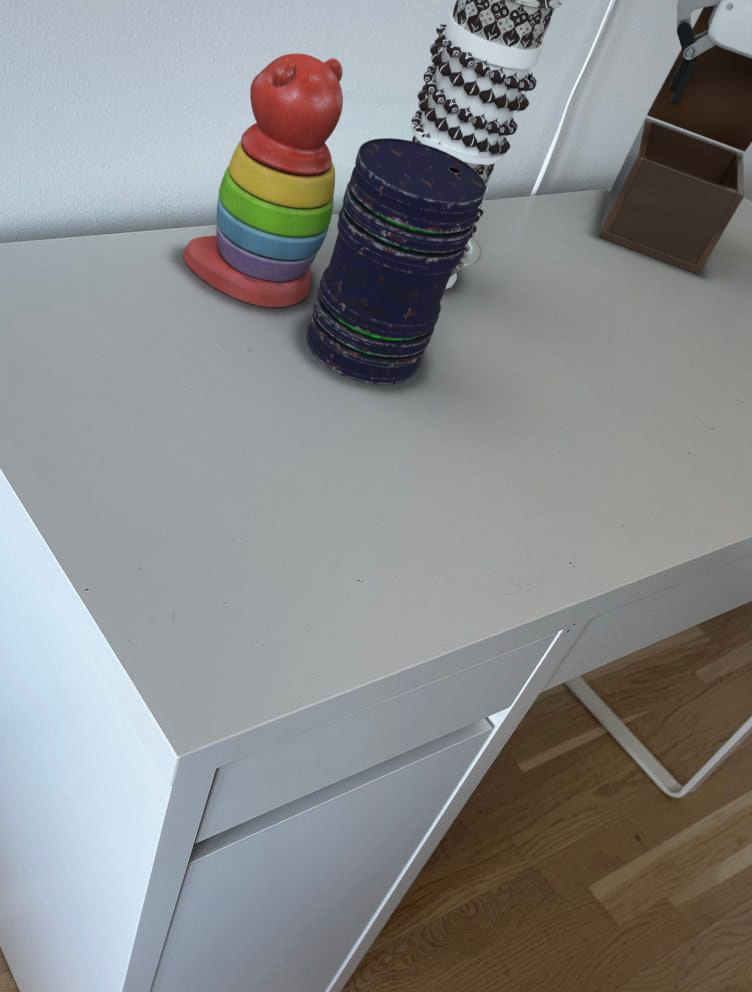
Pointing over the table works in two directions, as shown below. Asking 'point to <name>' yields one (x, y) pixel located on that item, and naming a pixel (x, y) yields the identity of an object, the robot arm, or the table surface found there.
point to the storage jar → (392, 259)
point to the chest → (673, 196)
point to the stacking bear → (276, 187)
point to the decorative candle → (480, 82)
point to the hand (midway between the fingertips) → (718, 116)
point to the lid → (711, 95)
